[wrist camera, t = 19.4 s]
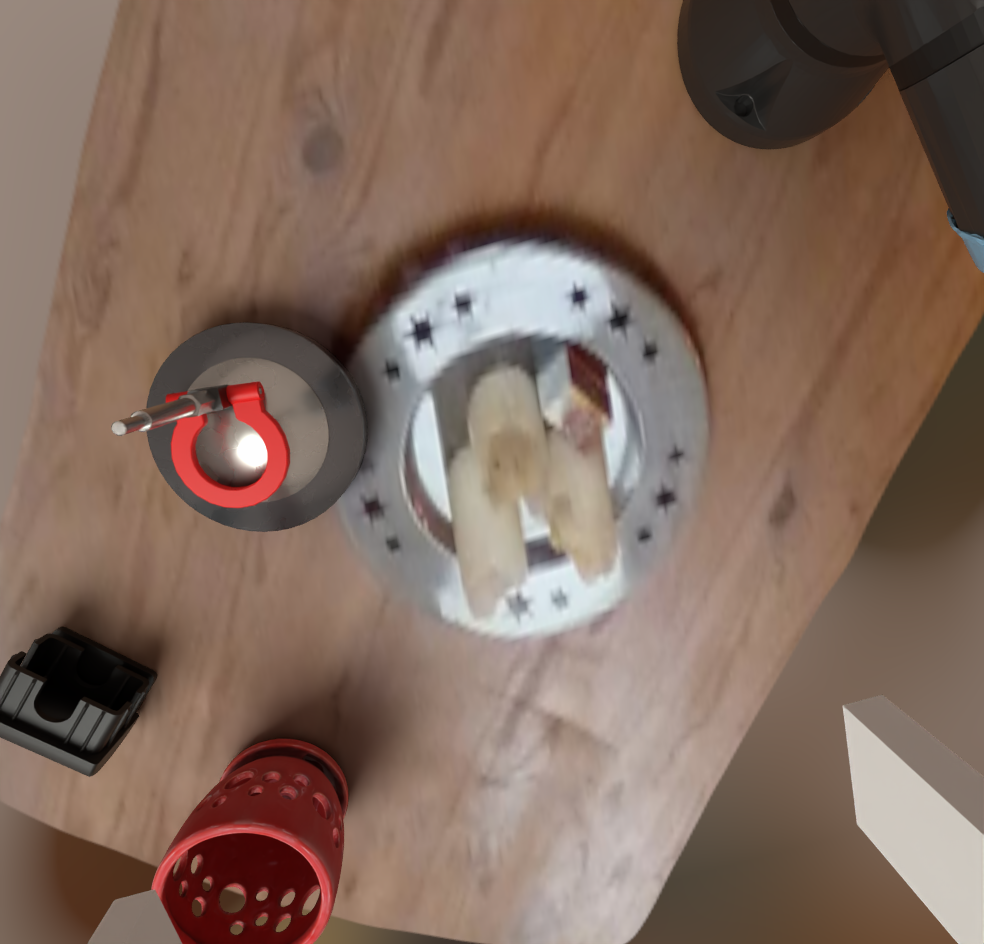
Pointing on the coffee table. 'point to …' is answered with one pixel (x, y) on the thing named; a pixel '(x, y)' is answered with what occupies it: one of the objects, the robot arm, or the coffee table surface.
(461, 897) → the coffee table surface
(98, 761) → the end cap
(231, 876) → the plant pot
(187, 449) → the tow hook
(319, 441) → the rosette plate
